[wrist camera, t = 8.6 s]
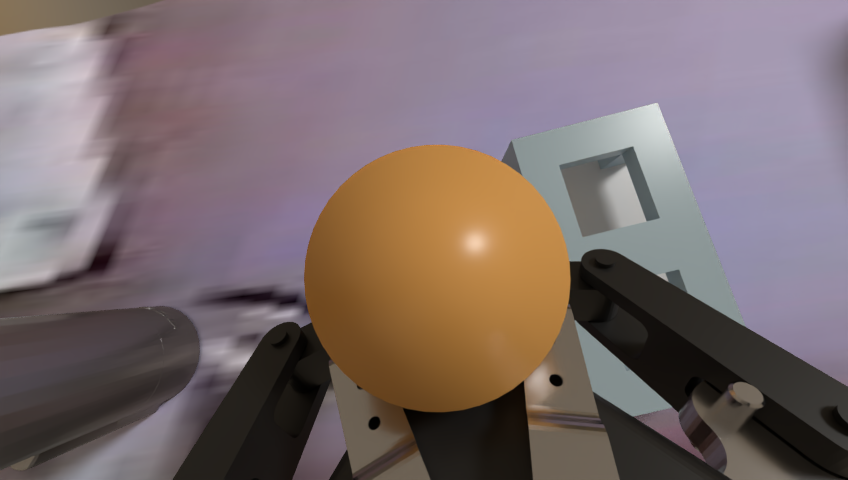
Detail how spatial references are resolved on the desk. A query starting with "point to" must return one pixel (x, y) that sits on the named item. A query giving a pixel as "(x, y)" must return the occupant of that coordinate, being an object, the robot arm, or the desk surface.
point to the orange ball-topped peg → (437, 278)
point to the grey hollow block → (625, 221)
